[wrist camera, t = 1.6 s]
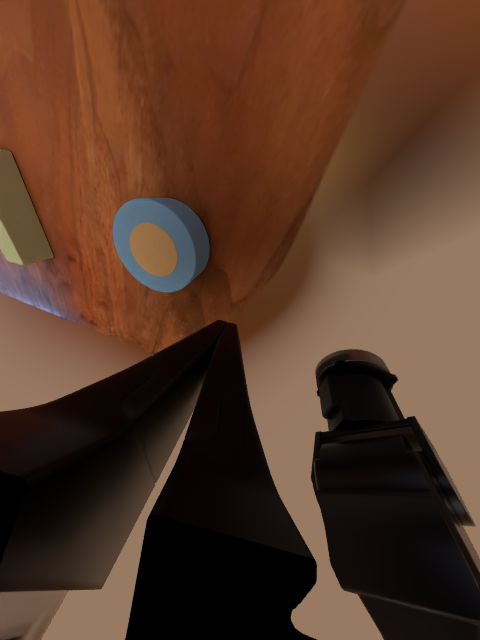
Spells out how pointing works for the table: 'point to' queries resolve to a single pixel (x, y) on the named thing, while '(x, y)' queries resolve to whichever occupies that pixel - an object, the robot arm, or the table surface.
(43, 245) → the stop block
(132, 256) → the tape roll
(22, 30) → the table surface
